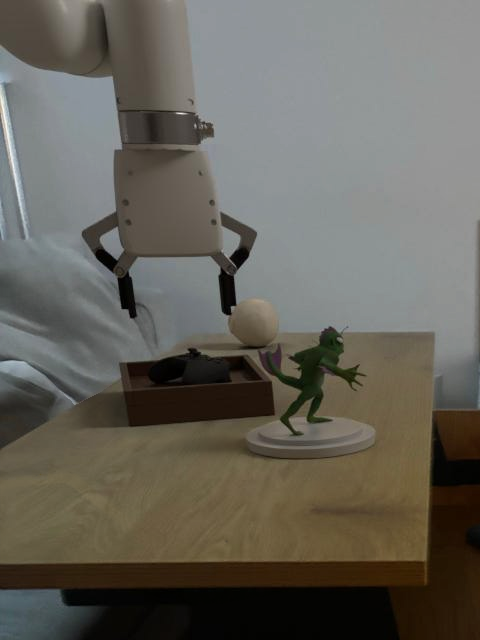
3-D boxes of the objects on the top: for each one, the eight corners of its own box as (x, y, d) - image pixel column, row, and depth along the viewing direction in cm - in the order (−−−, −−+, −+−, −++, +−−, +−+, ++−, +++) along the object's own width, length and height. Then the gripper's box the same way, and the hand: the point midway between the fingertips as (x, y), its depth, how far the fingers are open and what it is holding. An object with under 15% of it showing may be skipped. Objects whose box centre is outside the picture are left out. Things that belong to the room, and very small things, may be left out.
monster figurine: (399, 444, 91) (394, 330, 87) (281, 465, 85) (269, 343, 81) (337, 421, 100) (330, 316, 96) (226, 438, 94) (213, 327, 89)
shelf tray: (129, 426, 99) (123, 391, 97) (123, 393, 114) (118, 362, 112) (275, 414, 103) (271, 380, 102) (251, 384, 118) (248, 354, 117)
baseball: (233, 343, 147) (228, 296, 144) (282, 342, 147) (278, 295, 144) (227, 350, 141) (221, 301, 138) (279, 349, 141) (274, 300, 138)
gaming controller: (140, 374, 108) (171, 330, 109) (177, 404, 112) (206, 361, 113) (181, 386, 102) (214, 339, 102) (219, 417, 106) (250, 372, 106)
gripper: (243, 137, 103) (257, 308, 110) (66, 133, 98) (93, 313, 105) (254, 135, 97) (268, 317, 104) (65, 131, 91) (94, 323, 99)
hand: (180, 315), depth 105 cm, fingers open, 9 cm apart
